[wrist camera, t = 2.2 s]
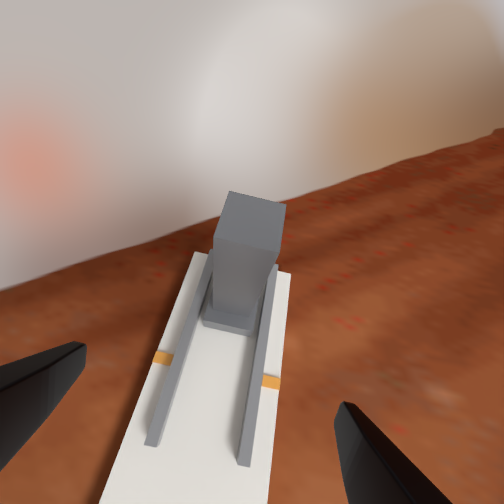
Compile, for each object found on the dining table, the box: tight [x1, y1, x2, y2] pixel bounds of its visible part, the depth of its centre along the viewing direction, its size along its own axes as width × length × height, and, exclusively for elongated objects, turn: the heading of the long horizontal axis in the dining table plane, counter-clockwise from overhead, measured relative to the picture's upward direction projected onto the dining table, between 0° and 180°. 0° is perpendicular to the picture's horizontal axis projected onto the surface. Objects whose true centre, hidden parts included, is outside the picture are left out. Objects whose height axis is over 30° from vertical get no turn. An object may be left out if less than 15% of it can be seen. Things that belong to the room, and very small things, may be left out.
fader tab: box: [203, 191, 286, 337], centre depth 16 cm, size 5×4×12 cm
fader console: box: [99, 249, 291, 504], centre depth 18 cm, size 22×10×3 cm, turn 170°
